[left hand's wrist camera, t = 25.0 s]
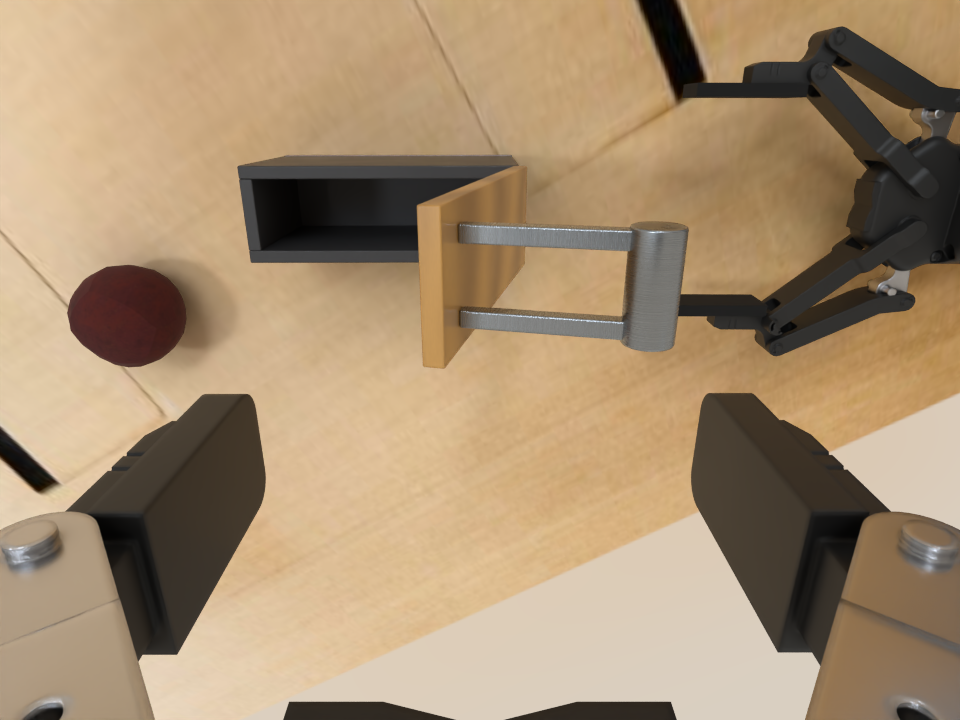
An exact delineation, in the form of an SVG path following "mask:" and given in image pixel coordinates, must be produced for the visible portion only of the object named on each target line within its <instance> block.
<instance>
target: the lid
mask: <svg viewBox="0 0 960 720" xmlns="http://www.w3.org/2000/svg"><path fill="white" fill-rule="evenodd" d="M526 187H527V167H526V166H513V167H510V168H508V169H505V170H503V171H500V172H498V173H495V174H493V175H490V176H488V177H486V178H483V179H481V180H478V181H476V182H473V183H471V184H468V185H466V186H463V187H461V188H458V189H456V190H453V191H451V192H448V193H446V194H444V195H441V196H439V197H436V198H434V199H431V200H429V201H426V202H424V203H421V204H419V205H417V224H418V250H419V276H420V301H421V327H422V353H423V366H424V367H432V368H443V369H444V368H445V367H446V366H447V365H448V363H449V362H450V361H451V359H452V358H453V357H454V356H455V354H456V353H457V352H458V350H459V349H460V348H461V346H462V345H463V344H464V342H465V341H466V340H467V339H468V337H469V336H470V335H471V333H472V332H473V331H474V329H484V330H498V331H511V332H524V333H537V334H550V335H563V336H576V337H589V338H602V339H615V340H620V341H621V343H622V344H623V345H624V346H626V347H628V348H631V349H635V350H639V351H646V352H660V351H666V350H669V349H671V348H672V347H673V346H674V344H675V336H676V328H677V320H678V312H679V304H680V296H681V288H682V279H683V271H684V263H685V255H686V247H687V239H688V231H689V229H688V227H687V226H685V225H682V224H678V223H671V222H656V221H650V222H638V223H634V224H632V225H631V226H630V228H627V227H600V226H573V225H546V224H526ZM525 247H547V248H569V249H591V250H613V251H628V254H627V266H626V277H625V288H624V299H623V311H622V317H618V316H604V315H589V314H574V313H560V312H545V311H530V310H516V309H501V308H491V307H492V306H493V305H494V303H495V302H496V301H497V299H498V298H499V297H500V295H501V294H502V293H503V291H504V290H505V289H506V288H507V286H508V285H509V284H510V282H511V281H512V280H513V278H514V277H515V276H516V274H517V273H518V272H519V271H520V269H521V268H522V267H523V265H524V264H525Z"/></svg>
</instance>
